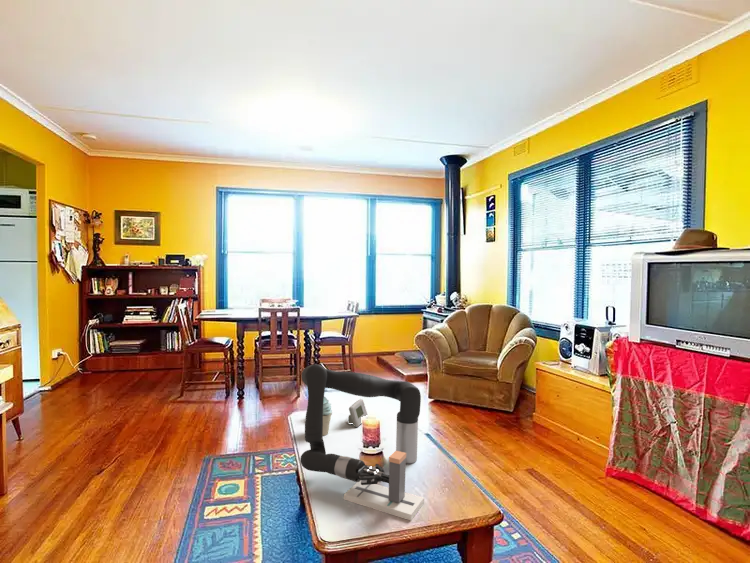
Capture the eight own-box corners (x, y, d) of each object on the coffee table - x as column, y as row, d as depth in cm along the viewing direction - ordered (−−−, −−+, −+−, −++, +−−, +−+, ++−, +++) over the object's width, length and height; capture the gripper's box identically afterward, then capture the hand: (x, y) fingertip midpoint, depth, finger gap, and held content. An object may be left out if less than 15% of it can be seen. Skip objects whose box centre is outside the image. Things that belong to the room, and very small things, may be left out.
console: (360, 484, 165) (360, 479, 165) (423, 503, 153) (424, 497, 153) (343, 499, 154) (344, 493, 154) (411, 520, 142) (411, 514, 142)
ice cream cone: (328, 428, 220) (329, 389, 220) (333, 436, 210) (334, 396, 209) (309, 430, 217) (309, 391, 216) (313, 438, 207) (313, 397, 206)
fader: (394, 493, 155) (396, 450, 154) (405, 496, 153) (406, 452, 152) (387, 501, 149) (388, 457, 149) (398, 504, 148) (399, 459, 147)
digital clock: (356, 429, 221) (357, 408, 220) (342, 425, 225) (342, 405, 225) (372, 419, 235) (373, 400, 234) (359, 416, 239) (359, 397, 239)
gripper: (340, 465, 154) (384, 477, 146) (358, 451, 165) (399, 462, 158) (340, 486, 154) (383, 499, 146) (358, 471, 166) (399, 482, 158)
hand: (391, 480), depth 152 cm, fingers closed
